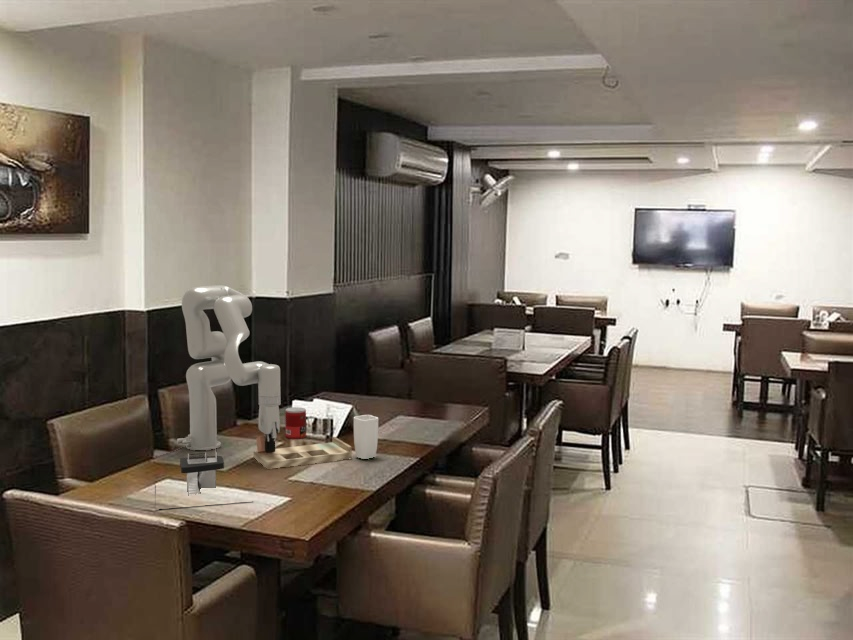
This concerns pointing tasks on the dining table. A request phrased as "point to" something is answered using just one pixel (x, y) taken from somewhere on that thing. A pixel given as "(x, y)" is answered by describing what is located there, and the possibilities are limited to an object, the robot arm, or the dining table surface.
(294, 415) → the canned food
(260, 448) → the block
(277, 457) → the board
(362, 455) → the cup
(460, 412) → the dining table surface
